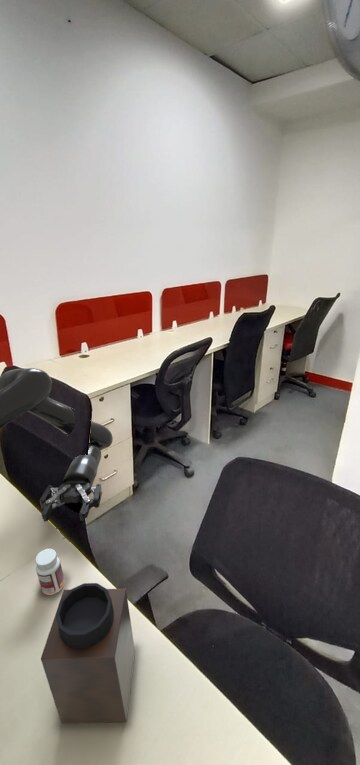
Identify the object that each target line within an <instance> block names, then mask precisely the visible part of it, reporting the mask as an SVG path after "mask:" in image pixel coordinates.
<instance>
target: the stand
mask: <svg viewBox="0 0 360 765" xmlns="http://www.w3.org/2000/svg"><path fill="white" fill-rule="evenodd" d="M106 589H107V590H108V592H109V595H110V597H111V600H112V605H113V611H114V618H113V623H112V626H111V628H110V630H109V632H108V633H107V635H106V636H105V637H104V638H103V639H102V640H101V641H100V642H98V643H97V644H95V645H94V646H91V647H89V648H85V649H74V648H71V647H69V646H67V645H66V644H65V643H64V642H63V641H62V639H61V637H60V634H59V628H58V624H57V620H56V612H57V609H58V606H59V603H60V601H61V599H62V598H63V597H64V596H65V595H66V594H67V593H68V592H69V591H70V590H71V589H63V590H62V594H61V597H60V600H59V602H58V606H57V608H56V612H55V614H54V617H53V619H52V620H53V621H52V623H51V627H50V629H49V633H48V635H47V637H46V638H47V639H46V641H45V644H44V648H43V650H42V654H41V657H40V662H41V664H42V667H43V670H44V674H45V677H46V679H47V683H48V687H49V689H50V693H51V695H52V699H53V703H54V706H55V708H56V711H57V714H58V717H59V722H60V724H117V723H118V724H121V723H125V724H126V723H127V722H128V714H129V705H130V696H131V690H132V689H131V688H132V680H133V671H134V664H135V653H136V649H135V642H134V635H133V628H132V621H131V615H130V607H129V600H128V593H127V588H106Z"/></svg>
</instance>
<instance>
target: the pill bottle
mask: <svg viewBox="0 0 360 765" xmlns="http://www.w3.org/2000/svg"><path fill="white" fill-rule="evenodd" d="M35 564H36V566H35V572H36V575H37V578H38V582H39V586H40V589H41V591H42V593H43V594H44V595H48V596H53V595H56V594H57V593H59V592H61V590H62V589H63V587H64V586H65V582H66V581H65V580H66V579H65V575H64V571H63V568H62V562H61V560H60V557H58V555H57V552H56V550H55V549H53V548H45V549H43V550H41V551H39V552H38V553H37V554H36V556H35Z"/></svg>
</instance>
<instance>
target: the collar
mask: <svg viewBox="0 0 360 765" xmlns="http://www.w3.org/2000/svg"><path fill="white" fill-rule="evenodd" d="M107 589H108V588H107V587H105V586H103V585H101V584H100V583H98V582H87V583H85V582H84V583H81V584H79V585H77V586H75V587H73V588H71V589H69V590H70V591H69V592H68V593H67V594H66V595H65V596H64V597H63V598H62V599H61V598H60V599H61V601H60V600H59V602H60V603H59V602H58V605H59V606H57V608H58V609H57V608H56V611H57V612H55V614H56V620H57V624H58V628H59V634H60V637H61V639H62V641H63V642H64V643H65V644H66V645H67V646H69V647H71V648H74V649H85V648H89V647H91V646H94V645H95V644H97V643H98V642H100V641H101V640H102V639H103V638H104V637H105V636H106V635H107V633H108V632H109V630H110V628H111V626H112V623H113V618H114V611H113V605H112V600H111V597H110V595H109V592H108V590H107Z"/></svg>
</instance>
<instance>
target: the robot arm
mask: <svg viewBox="0 0 360 765" xmlns="http://www.w3.org/2000/svg"><path fill="white" fill-rule="evenodd" d="M52 388H53V382H52V378H51V377H50V374H48V373H47V372H46V371H44V370H43V369H38V368H35V367H27V368H15V369H14V368H13V369H10V370H7V371H6V372H4V373H2V374H1V376H0V430H2V429H3V428H4V427H6V425H8V424H9V423H11V422H12V421H14V420H15V419H17V418H19V417H21V416H22V415H23V414H25V413H27V412H28V413H30V414H32V415H34V416H36V417H38V418H40V419H41V420H43V421H45V422H46V423H48V424H50V425H52V426H53V427H54V428H56V429H58V430H59V431H61V432H62V433H63V434H65V435H66V434H70V433H71V432H72V430H73V429H74V426H75V415H74V412H73V411H72V409H73V408H72V407H70V406H69V405H66V404H64V403H62V402H59V401H57V400H54V399H53V398H50V397H49V396H50V394H51V391H52ZM71 408H72V409H71ZM91 421H92V422H91V433H90V443H89V450H88V455H86V454H85V455H79V456H77V457H75V456H74V458H75V459H74V458H73V460H72V462H71V463H70V465H69V467H68V468H67V471H66V473H65V475H64V477H63V479H62V482H61V485H60V486H58V487H53V485H52V484H49V485H47V487H46V488H45V490H44V492H43V493H42V495H41V497H40V498H39V504H40V509H41V510H42V511H41V518H42V520H43V522H49V519H50V517H51V516H52V513H53V510H55V509H56V508H57V507H61V506H63V505H65V504H71V503H72V504H73V503H74V504H78V503H79V502H80V503H81V508H80V511H79V514H78V515H79V520H80V521H81V522H83V521H85V519H88V517H89V514H90V510H91V509H92V508H95V509H98V508H99V507H100V504H101V499H102V495H103V488H102V484H101V483H97V484H96V485H95V486H93V484H94V482H95V479H96V477H97V475H98V474H97V473H98V469H99V468H98V467H99V465H100V462H101V459H102V451H103V450H105V449H107V448H109V447H111V445H112V444H113V441H114V439H113V438H114V437H113V433H112V432H111V431H110V429H109V428H108V427H106V426H105V425H103V424H101V423H99V422H95V421H93V420H91ZM92 493H93V496H92V498H91V499H90V497H89V496H90V495H91V494H92Z"/></svg>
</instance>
